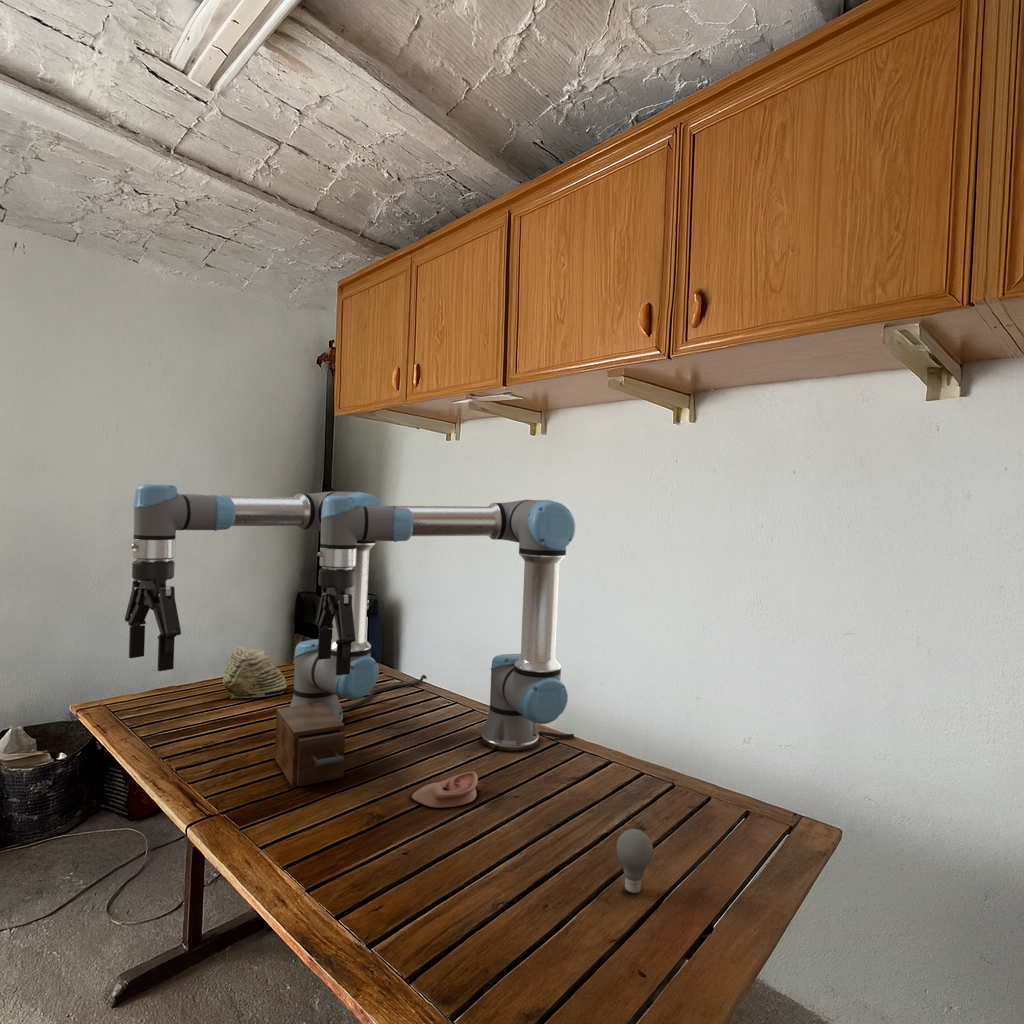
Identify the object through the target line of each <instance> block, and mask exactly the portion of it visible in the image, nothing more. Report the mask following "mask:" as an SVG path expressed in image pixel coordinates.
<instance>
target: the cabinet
mask: <svg viewBox="0 0 1024 1024" xmlns="http://www.w3.org/2000/svg"><path fill="white" fill-rule="evenodd" d="M275 714H276V715H275V737H274V760H275V762H276V763H277V765H278V766H279V768H280V770H281V772H282V773H283V775H284V776H285V778H286V779H287V781H288V783H289V784H290V787H292V788H295V787H298V786H297V765H298V739H299V736H305V735H311V734H317V733H323V732H329V731H337V733H338V732H344V733H345V723H344V722H341V721H340V720H339V719H338V718H337V717H336V716H335V715H334V714H333V712H332V711H331V710H330V709H329V708H328V707H327V706H326V705H325V704H324V703H316V704H308V705H301V706H294V707H290V706H287V707H280V708H276V710H275Z"/></svg>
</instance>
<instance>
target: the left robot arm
mask: <svg viewBox="0 0 1024 1024" xmlns="http://www.w3.org/2000/svg"><path fill="white" fill-rule="evenodd" d="M134 492H135V493H134V499H133V507H132V508H133V538H132V539H133V541H132V542H133V543H132V544H130V549H132V558H133V559H135V560H134V561H133V562H132V563H131V578H132V579H133V580H132V585H131V593H130V596H129V600H128V605H127V608H126V612H125V616H124V621H125V622H126V623H127V622H128V626H129V636H128V637H129V638H128V642H129V643H128V659H137V658H141V657H142V658H143V657H145V645H146V643H145V642H146V641H145V640H146V639H145V638H146V625H147V621H146V618H147V615H148V613H149V611H150V610H152V611H153V614H154V617H155V621H156V624H157V627H158V631H159V634H158V636H157V639H158V640H157V641H158V642H157V645H158V646H157V672H163V671H170V670H174V666H175V665H174V664H175V638H176V637H177V636H181V634H182V628H181V624H180V619H179V613H178V608H177V603H176V593H175V592H176V590H175V589H176V588H175V586H173V585H172V586H167V581H168V580H172V579H174V577H175V566H176V565H175V564H176V562H175V561H174V560H173V559H174V558H176V546H177V545H176V542H177V541H176V540H177V539H176V538H177V537H176V536H177V531H215V532H216V531H224V530H229V529H230V528H232V527H292V526H293V527H294V528H295V529H296V530H308V531H309V530H310V531H316V532H321V515H322V506H323V500H324V498H325V497H327V496H345V497H357V498H358V503H359V506H366V505H376V506H384V505H383V503H382V502H381V501H380V499H379V498H377V497H376V496H375V495H373V494H371V493H367V492H363V491H337V490H336V491H335V490H333V491H323V492H322V491H321V492H313V493H312V492H311V493H297V494H295V495H294V496H268V495H266V496H265V495H235V494H233V495H232V494H230V495H229V494H197V493H196V494H195V493H178V487H177V486H176V485H174V484H157V483H156V484H155V483H152V484H151V483H141V484H138V485H137V486H136V487H135V491H134ZM376 542H377V541H371V540H364V541H361V540H357V543H356V548H357V551H356V566H355V567H353V569H354V570H355V584H354V586H352V587H347V588H346V594H351V595H352V611H353V620H354V630H355V638H356V640H355V642H352V643H351V657H350V674H346V675H336V656H337V644H336V641H337V640H339V639H338V633H337V628H336V622H335V617H334V619H333V621H332V623H333V627H334V628H332V641H331V659H321V660H318V641H319V638H317V639H308V640H304V641H300V642H299V643H297V645H296V646H295V650H294V655H293V657H294V672H293V673H294V674H293V695H292V696H293V697H292V699H291V702H290V704H289V707H294V706H301V705H308V704H316V703H324V704H325V705H326V706H327V707H328V708H329V709H330V710H331V711H332V712H333V714H334V715H335V716H336V717H337V718H338V719H339V720H340V721H341V722H342V723H344V714H343V710H346V709H347V710H348V709H352V708H355V707H357V706H360V705H362V704H364V703H366V702H367V701H369V700H370V699H371V698H372V697H373V696H374V695H375V694H377V693H379V692H383V691H387V690H391V689H396V688H397V689H398V688H403V687H411V686H417V685H419V684H421V683H422V682H423V681H424V680H427V679H428V678H427V675H425V674H422V675H421V676H420V679H419V680H417V681H414V682H408V683H397V684H393V685H388V686H383V687H380V688H377V689H375V690H372V689H374V687H375V685H376V684H377V682H378V678H379V674H380V670H379V669H380V668H379V665H378V662H376V660H375V659H374V657H372V656H371V655H372V653H371V652H372V644H371V643H370V642H369V641H368V640H367V639H366V638H367V637H366V636H367V635H366V634H367V614H368V613H367V612H368V591H369V571H370V570H369V567H370V551H371V549H372V548H373V547H374V546H375V545H376ZM371 690H372V691H371ZM365 696H366V697H365ZM364 697H365V698H364ZM339 698H341V699H344V700H348V701H349V700H350V701H355V702H354V703H351V704H347V705H341V702H340V699H339ZM360 699H361V700H360ZM357 700H359V701H357Z"/></svg>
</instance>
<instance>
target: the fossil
mask: <svg viewBox="0 0 1024 1024" xmlns="http://www.w3.org/2000/svg"><path fill="white" fill-rule="evenodd" d="M222 676H223V677H222V685H223V687H224V688H225V690H226V691H228V693H229V698H230V699H250V698H264V697H271V696H275V695H281V694H284V693H285V691H286V689H287V687H288V686H287V680H286V678H285V676H284V674H283V673H282V672H281V669H279V668H278V667H277V665H276V663H275V662H274V660H273V659H272V658H271V657H270V656H269V655H268V654H267V653H266V652H265V650H264V649H263V648H260V647H258V648H251V647H247V646H246V647H245V646H238V647H237V648H236V649H235V650H233V651H232V653H231V656H230V657H229V659H228V660H227V663H226V666H225V668H224V671H223V675H222Z"/></svg>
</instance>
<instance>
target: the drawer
mask: <svg viewBox="0 0 1024 1024" xmlns="http://www.w3.org/2000/svg"><path fill="white" fill-rule="evenodd" d="M345 747H346V732H345V731H344V732H338V733H337V731H329V732H323V733H317V734H311V735H305V736H299V739H298V765H297V786H296V787H298V788H299V787H303V786H309V785H312V784H317V783H323V782H327V781H332V780H337V779H342V778H344V777H345V775H344V774H345Z"/></svg>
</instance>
